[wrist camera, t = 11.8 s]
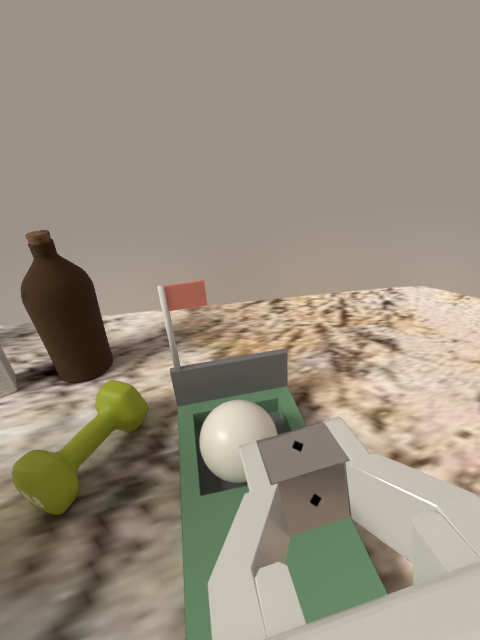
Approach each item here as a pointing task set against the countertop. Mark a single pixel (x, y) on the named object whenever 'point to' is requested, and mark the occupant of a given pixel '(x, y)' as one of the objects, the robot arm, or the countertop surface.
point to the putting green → (225, 497)
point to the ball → (232, 436)
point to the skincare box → (6, 376)
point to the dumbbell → (77, 450)
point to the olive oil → (65, 312)
